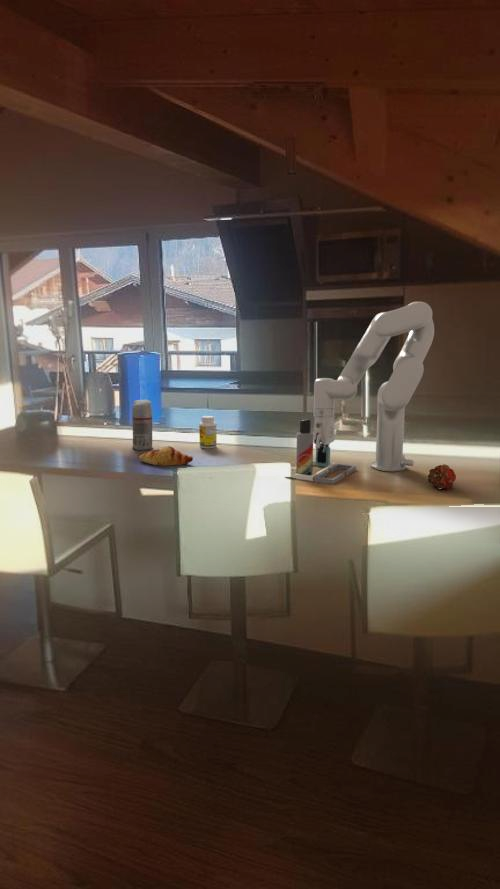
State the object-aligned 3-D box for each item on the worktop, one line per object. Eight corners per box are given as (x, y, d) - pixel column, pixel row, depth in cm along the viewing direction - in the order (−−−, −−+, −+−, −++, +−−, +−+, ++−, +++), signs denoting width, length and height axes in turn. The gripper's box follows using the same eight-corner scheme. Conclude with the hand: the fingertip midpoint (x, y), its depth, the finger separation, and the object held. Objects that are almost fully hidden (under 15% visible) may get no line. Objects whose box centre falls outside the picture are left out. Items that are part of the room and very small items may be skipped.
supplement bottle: (198, 445, 281) (198, 415, 279) (215, 445, 283) (215, 415, 280) (200, 449, 275) (200, 418, 272) (217, 448, 276) (217, 417, 273)
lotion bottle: (307, 479, 229) (309, 421, 225) (293, 476, 232) (294, 419, 228) (315, 475, 234) (316, 418, 230) (300, 473, 237) (301, 417, 233)
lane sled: (336, 466, 246) (337, 448, 244) (312, 480, 226) (313, 460, 225) (310, 463, 250) (310, 445, 249) (284, 477, 231) (284, 457, 230)
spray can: (157, 447, 277) (156, 399, 273) (144, 451, 270) (142, 402, 266) (142, 445, 282) (140, 398, 277) (128, 449, 275) (126, 400, 271)
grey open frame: (355, 469, 242) (356, 465, 241) (333, 484, 223) (333, 479, 222) (337, 467, 245) (337, 463, 245) (313, 481, 226) (313, 477, 226)
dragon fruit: (436, 497, 213) (439, 493, 224) (460, 484, 210) (462, 480, 222) (421, 474, 214) (425, 471, 226) (445, 461, 212) (448, 458, 223)
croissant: (137, 472, 252) (132, 456, 247) (145, 455, 259) (140, 439, 254) (191, 474, 247) (187, 458, 242) (197, 456, 254) (194, 440, 249)
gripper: (325, 416, 235) (324, 467, 239) (341, 410, 248) (340, 458, 252) (305, 414, 238) (304, 465, 242) (322, 408, 252) (321, 456, 256)
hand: (322, 461), depth 247 cm, fingers closed on lane sled
